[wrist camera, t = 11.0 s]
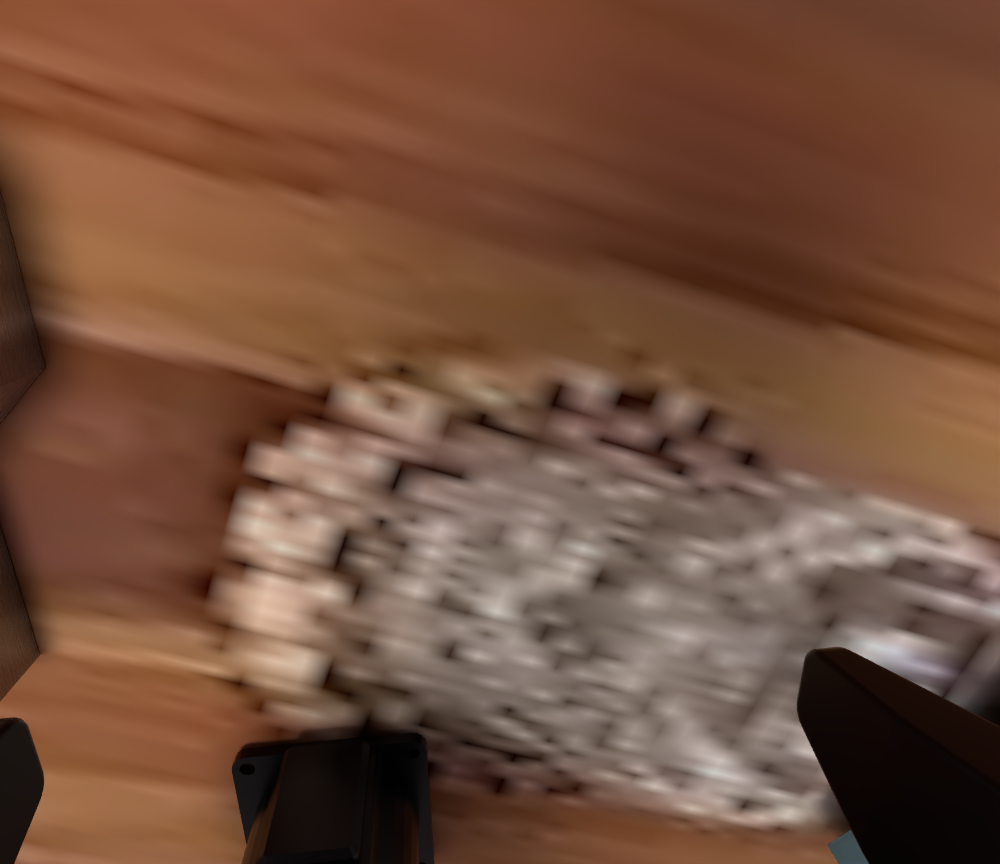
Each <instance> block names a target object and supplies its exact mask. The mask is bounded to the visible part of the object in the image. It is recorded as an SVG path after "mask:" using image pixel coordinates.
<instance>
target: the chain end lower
mask: <svg viewBox="0 0 1000 864" xmlns="http://www.w3.org/2000/svg"><path fill="white" fill-rule="evenodd" d="M44 368H45V365H44V361H43V357H42V353H41V349H40V345H39V341H38V337H37V333H36V329H35V325H34V322H33V318H32V314H31V310H30V306H29V302H28V298H27V294H26V290H25V286H24V283H23V279H22V275H21V271H20V267H19V263H18V259H17V255H16V251H15V247H14V243H13V240H12V236H11V232H10V228H9V224H8V220H7V216H6V212H5V208H4V204H3V201H2V197H1V193H0V423H1V422H2V421H3V420H4V418H5V417H6V416H7V415H8V413H9V412H10V411H11V410H12V408H13V407H14V406H15V405H16V403H17V402H18V401H19V400H20V398H21V397H22V396H23V395H24V393H25V392H26V391H27V390H28V388H29V387H30V386H31V385H32V383H33V382H34V381H35V380H36V378H37V377H38V376H39V375H40V373H41V372H42V371H43V370H44ZM38 657H39V651H38V648H37V645H36V642H35V638H34V635H33V632H32V629H31V625H30V622H29V619H28V615H27V612H26V609H25V606H24V602H23V599H22V596H21V593H20V589H19V586H18V583H17V580H16V576H15V573H14V570H13V567H12V563H11V560H10V557H9V553H8V550H7V547H6V544H5V540H4V537H3V534H2V531H1V527H0V701H1V700H2V699H3V698H4V696H5V695H6V694H7V693H8V692H9V691H10V689H11V688H12V687H13V686H14V685H15V684H16V682H17V681H18V680H19V679H20V678H21V677H22V675H23V674H24V673H25V672H26V671H27V670H28V668H29V667H30V666H31V665H32V664H33V662H34V661H35V660H36V659H37V658H38Z"/></svg>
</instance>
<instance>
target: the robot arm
mask: <svg viewBox="0 0 1000 864" xmlns="http://www.w3.org/2000/svg"><path fill="white" fill-rule="evenodd" d="M797 712H798V717H799V720H800V723H801V725H802V728H803V730H804V732H805V734H806V736H807V738H808V740H809V742H810V745H811V747H812V749H813V751H814V753H815V755H816V757H817V759H818V762H819V764H820V766H821V768H822V770H823V772H824V774H825V776H826V778H827V781H828V783H829V785H830V787H831V789H832V791H833V793H834V795H835V797H836V800H837V802H838V804H839V806H840V808H841V810H842V812H843V814H844V816H845V819H846V821H847V823H848V825H849V827H850V829H851V831H852V833H853V835H854V837H855V839H856V841H857V843H858V845H859V847H860V849H861V851H862V853H863V854H864V856H865V858H866V860H867V861H868V863H869V864H1000V727H999V726H997V725H995V724H993V723H991V722H989V721H987V720H985V719H983V718H981V717H979V716H978V715H976V714H974V713H972V712H970V711H968V710H966V709H964V708H962V707H960V706H958V705H956V704H954V703H952V702H950V701H948V700H946V699H944V698H942V697H940V696H938V695H936V694H934V693H932V692H930V691H928V690H926V689H925V688H923V687H921V686H919V685H917V684H915V683H913V682H911V681H909V680H907V679H905V678H903V677H901V676H899V675H897V674H895V673H893V672H891V671H889V670H887V669H885V668H883V667H881V666H879V665H877V664H875V663H874V662H872V661H870V660H868V659H866V658H864V657H862V656H860V655H858V654H856V653H854V652H852V651H850V650H848V649H846V648H842V647H831V648H819V649H813V650H811V651H809V652H808V653H807V655H806V656H805V660H804V665H803V670H802V676H801V681H800V687H799V693H798V698H797ZM411 747H412V748H416V749H414V750H409V749H408V748H411ZM246 763H248V764H252V765H246ZM232 774H233V779H234V784H235V789H236V794H237V799H238V804H239V809H240V814H241V819H242V824H243V829H244V834H245V839H246V844H247V846H246V849H245V853H244V857H243V860H242V864H434V850H433V834H432V819H431V803H430V788H429V773H428V757H427V743H426V740H425V738H424V737H423V736H422V735H420V734H417V733H406V734H395V735H385V736H374V737H363V738H353V739H342V740H332V741H321V742H310V743H300V744H289V745H278V746H268V747H257V748H248V749H244V750H241V751H240V752H238V754H237V755H236V757H235V760H234V763H233V766H232ZM43 787H44V774H43V770H42V767H41V764H40V760H39V757H38V754H37V751H36V748H35V745H34V742H33V739H32V736H31V733H30V730H29V727H28V725H27V724H26V723H25V722H24V721H23V720H22V719H19V718H2V719H0V864H14V863H15V860H16V858H17V855H18V853H19V850H20V848H21V846H22V843H23V841H24V838H25V836H26V833H27V831H28V829H29V826H30V824H31V821H32V819H33V816H34V814H35V811H36V809H37V807H38V804H39V802H40V799H41V796H42V792H43Z"/></svg>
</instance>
